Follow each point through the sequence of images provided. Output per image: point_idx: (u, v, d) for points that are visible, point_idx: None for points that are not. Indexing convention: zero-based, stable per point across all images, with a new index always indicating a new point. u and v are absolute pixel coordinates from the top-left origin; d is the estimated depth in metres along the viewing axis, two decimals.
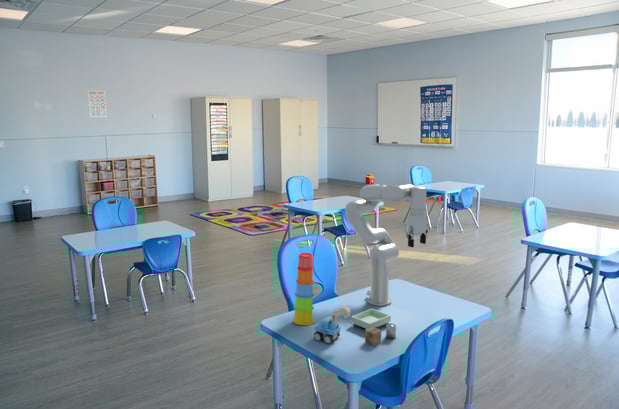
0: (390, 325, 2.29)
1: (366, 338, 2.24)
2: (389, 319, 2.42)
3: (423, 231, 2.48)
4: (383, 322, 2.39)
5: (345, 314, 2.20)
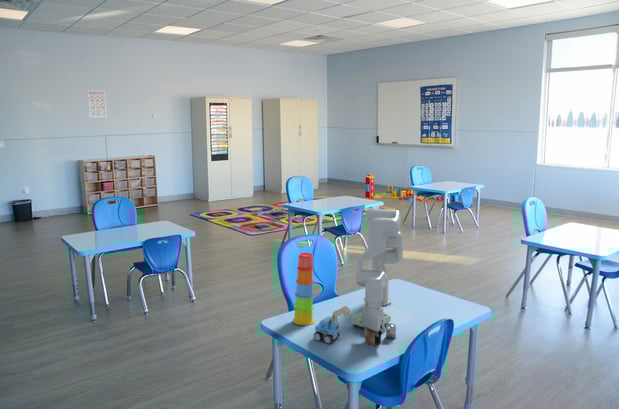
0: (390, 325, 2.29)
1: (366, 338, 2.24)
2: (389, 319, 2.42)
3: None
4: None
5: (345, 314, 2.20)
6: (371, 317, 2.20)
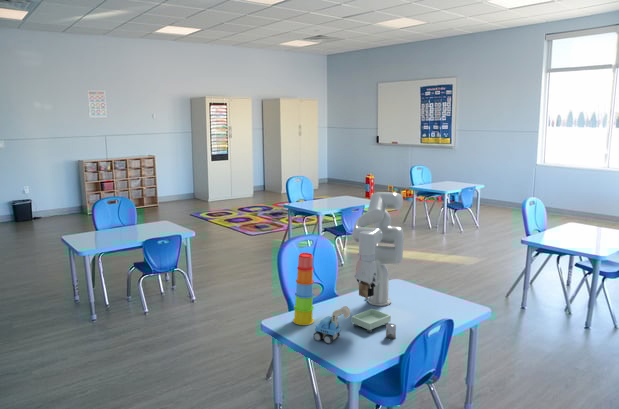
0: (390, 325, 2.29)
1: (360, 291, 2.37)
2: (389, 319, 2.42)
3: None
4: (383, 322, 2.39)
5: (345, 314, 2.20)
6: (364, 270, 2.33)
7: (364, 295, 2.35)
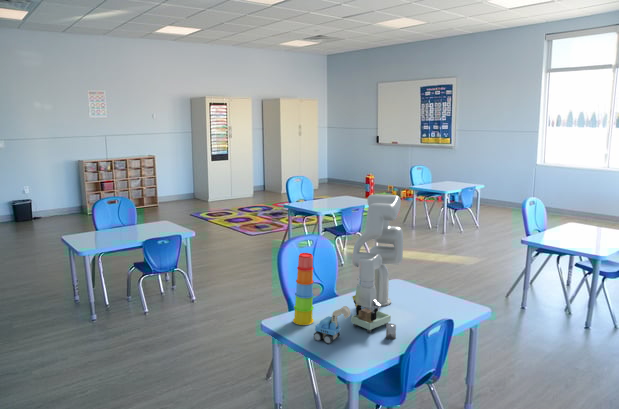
0: (390, 325, 2.29)
1: (359, 318, 2.39)
2: (389, 319, 2.42)
3: None
4: (383, 322, 2.39)
5: (345, 314, 2.20)
6: (364, 296, 2.35)
7: None
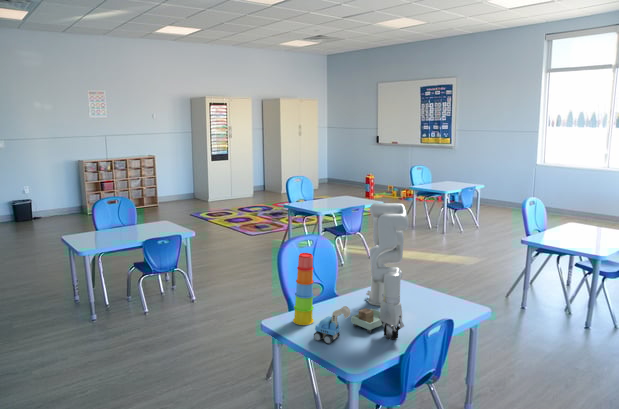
0: (390, 325, 2.29)
1: (359, 318, 2.39)
2: None
3: None
4: None
5: (345, 314, 2.20)
6: (389, 312, 2.25)
7: None
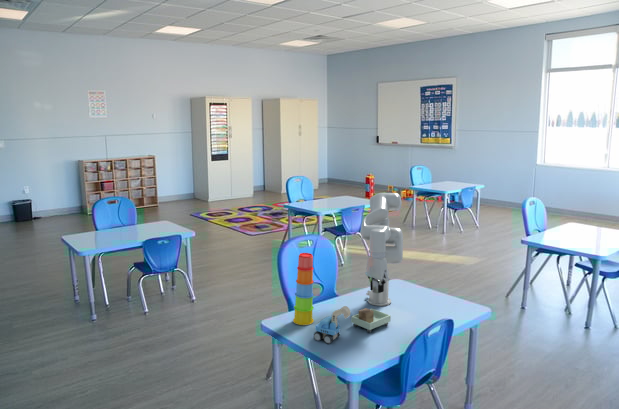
0: (376, 279, 2.42)
1: (359, 318, 2.39)
2: (389, 319, 2.42)
3: None
4: (383, 322, 2.39)
5: (345, 314, 2.20)
6: (375, 267, 2.37)
7: None
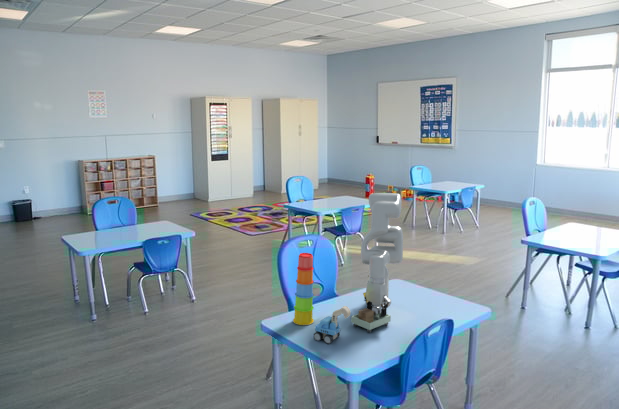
0: (375, 306, 2.44)
1: (359, 318, 2.39)
2: (389, 319, 2.42)
3: None
4: (383, 322, 2.39)
5: (345, 314, 2.20)
6: (375, 292, 2.40)
7: None
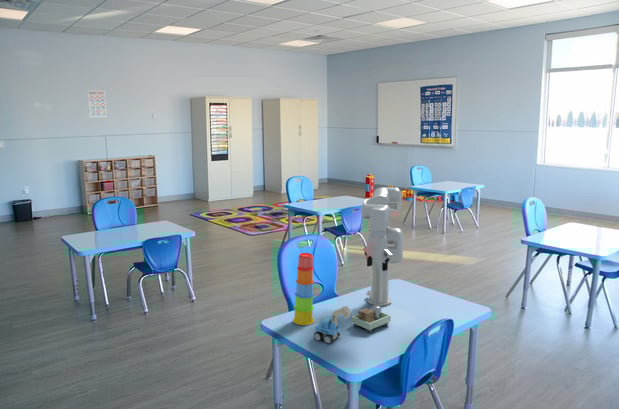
0: (375, 306, 2.44)
1: (359, 318, 2.39)
2: (389, 319, 2.42)
3: None
4: (383, 322, 2.39)
5: (345, 314, 2.20)
6: (375, 246, 2.36)
7: None
